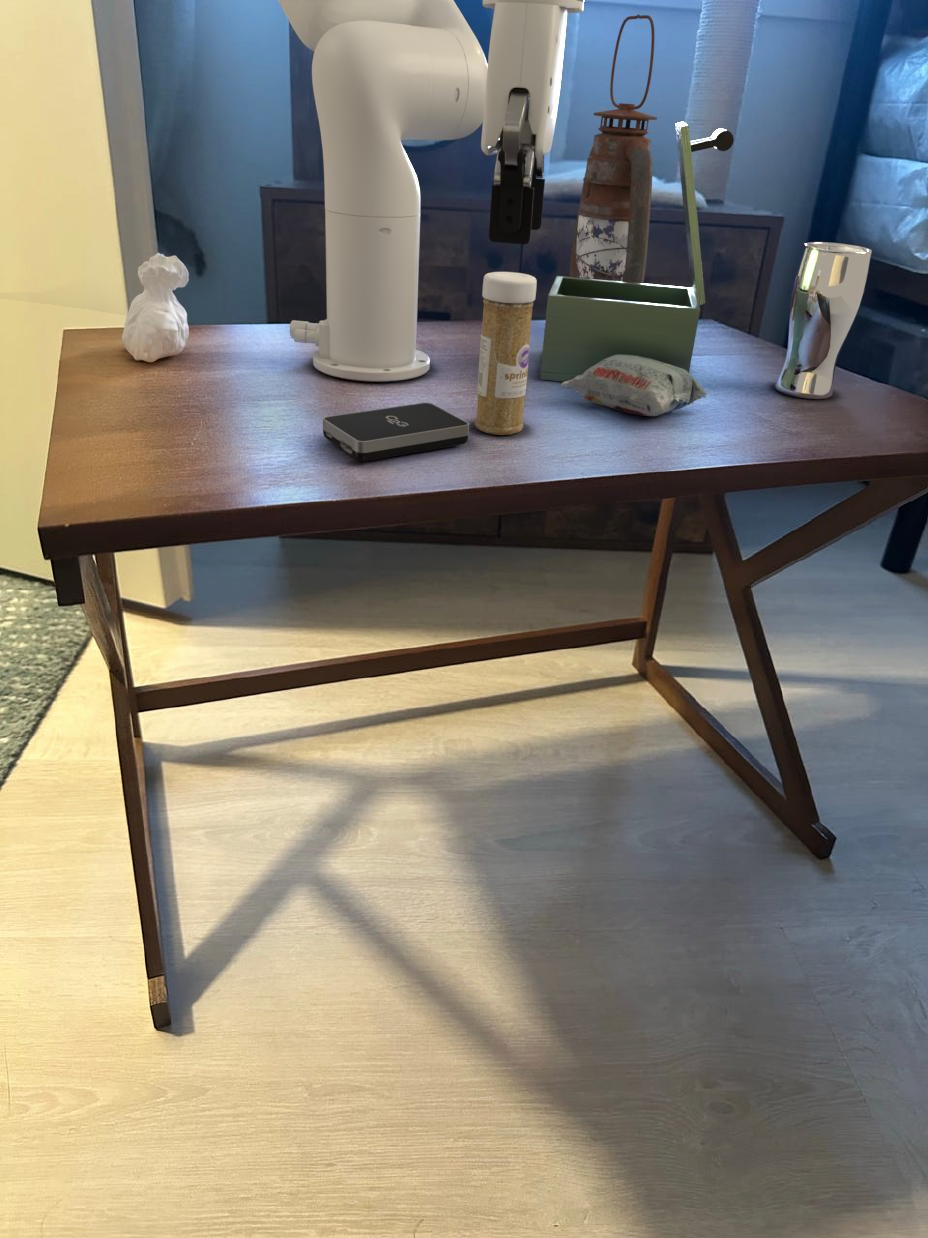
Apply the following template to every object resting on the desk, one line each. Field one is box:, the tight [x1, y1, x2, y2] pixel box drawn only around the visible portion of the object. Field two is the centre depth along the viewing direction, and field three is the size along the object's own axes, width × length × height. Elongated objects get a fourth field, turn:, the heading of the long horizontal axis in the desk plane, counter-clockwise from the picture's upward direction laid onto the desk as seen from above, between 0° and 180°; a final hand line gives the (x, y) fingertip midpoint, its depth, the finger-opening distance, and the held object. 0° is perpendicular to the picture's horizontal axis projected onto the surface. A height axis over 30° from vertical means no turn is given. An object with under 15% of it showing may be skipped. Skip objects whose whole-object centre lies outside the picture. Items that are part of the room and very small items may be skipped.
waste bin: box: [539, 275, 701, 383], centre depth 102 cm, size 16×12×9 cm
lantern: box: [569, 13, 658, 284], centre depth 111 cm, size 11×16×35 cm
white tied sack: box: [121, 252, 190, 363], centre depth 98 cm, size 12×8×11 cm
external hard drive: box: [322, 402, 470, 462], centre depth 79 cm, size 7×11×2 cm, turn 124°
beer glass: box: [775, 241, 873, 400], centre depth 99 cm, size 7×7×15 cm
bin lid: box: [675, 121, 735, 306], centre depth 95 cm, size 16×12×5 cm
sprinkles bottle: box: [474, 271, 538, 436], centre depth 82 cm, size 5×5×13 cm
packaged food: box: [560, 354, 708, 417], centre depth 91 cm, size 9×12×5 cm
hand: (516, 234), depth 77 cm, fingers open, 9 cm apart
